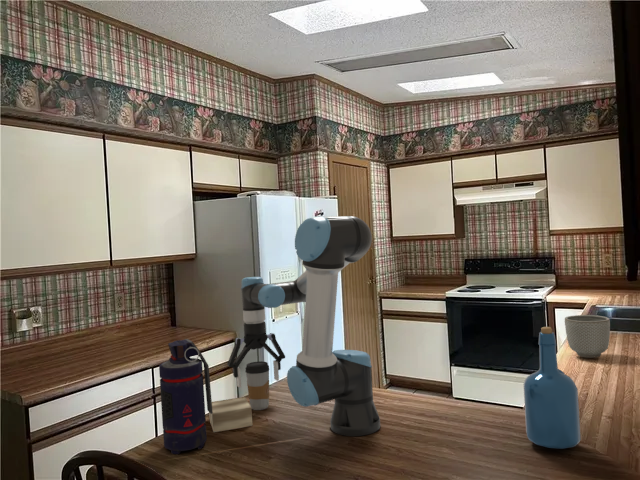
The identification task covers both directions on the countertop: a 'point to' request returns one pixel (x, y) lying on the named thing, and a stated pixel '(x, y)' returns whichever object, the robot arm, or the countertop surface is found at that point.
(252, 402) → the coffee cup
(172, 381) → the grenade
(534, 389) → the wine bottle
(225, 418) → the maple block
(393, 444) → the countertop surface
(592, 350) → the planter
